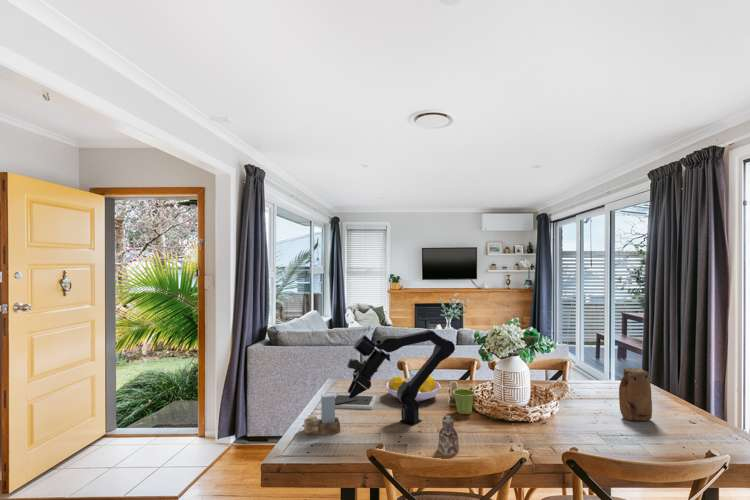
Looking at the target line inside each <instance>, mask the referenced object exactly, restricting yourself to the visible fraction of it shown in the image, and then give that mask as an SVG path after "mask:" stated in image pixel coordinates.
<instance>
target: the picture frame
mask: <svg viewBox="0 0 750 500" xmlns="http://www.w3.org/2000/svg"><path fill="white" fill-rule="evenodd" d="M334 395H335V409H346V410H347V409H349V410H350V409H351V410H354V409H355V410H373V408H374V405H375V403H376V401H377V399H378V395H374V394H373V395H372V394H358V395H356V396H355V397H353V398H351V399H350V398H349V395H350V393H347V394H344V393H342V394H341V393H334Z"/></svg>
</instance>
